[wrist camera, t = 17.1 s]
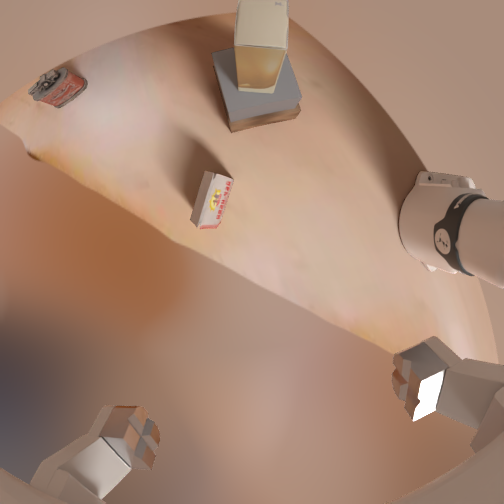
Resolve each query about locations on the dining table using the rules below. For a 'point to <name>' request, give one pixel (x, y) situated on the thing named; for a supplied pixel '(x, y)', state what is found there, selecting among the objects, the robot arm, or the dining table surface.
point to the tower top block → (252, 102)
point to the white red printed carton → (211, 200)
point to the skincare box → (260, 43)
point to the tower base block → (259, 119)
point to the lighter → (58, 87)
